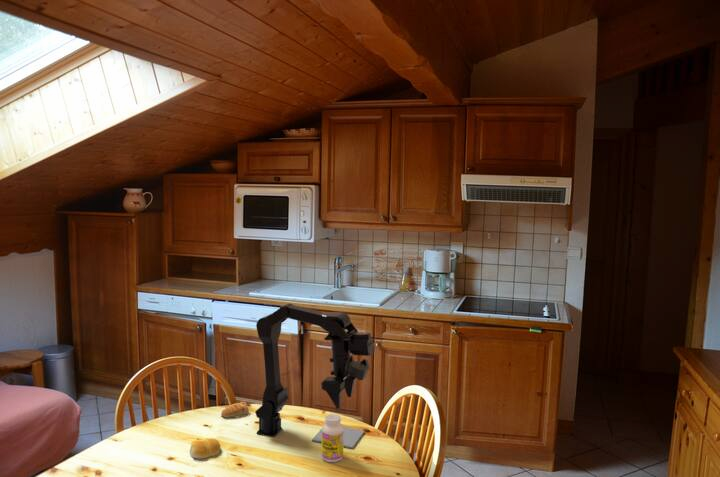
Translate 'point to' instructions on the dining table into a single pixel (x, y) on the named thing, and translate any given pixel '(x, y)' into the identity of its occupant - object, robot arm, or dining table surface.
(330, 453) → the supplement bottle
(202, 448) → the bread roll
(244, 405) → the pastry
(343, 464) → the dining table surface
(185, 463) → the dining table surface
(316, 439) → the rubber mat
